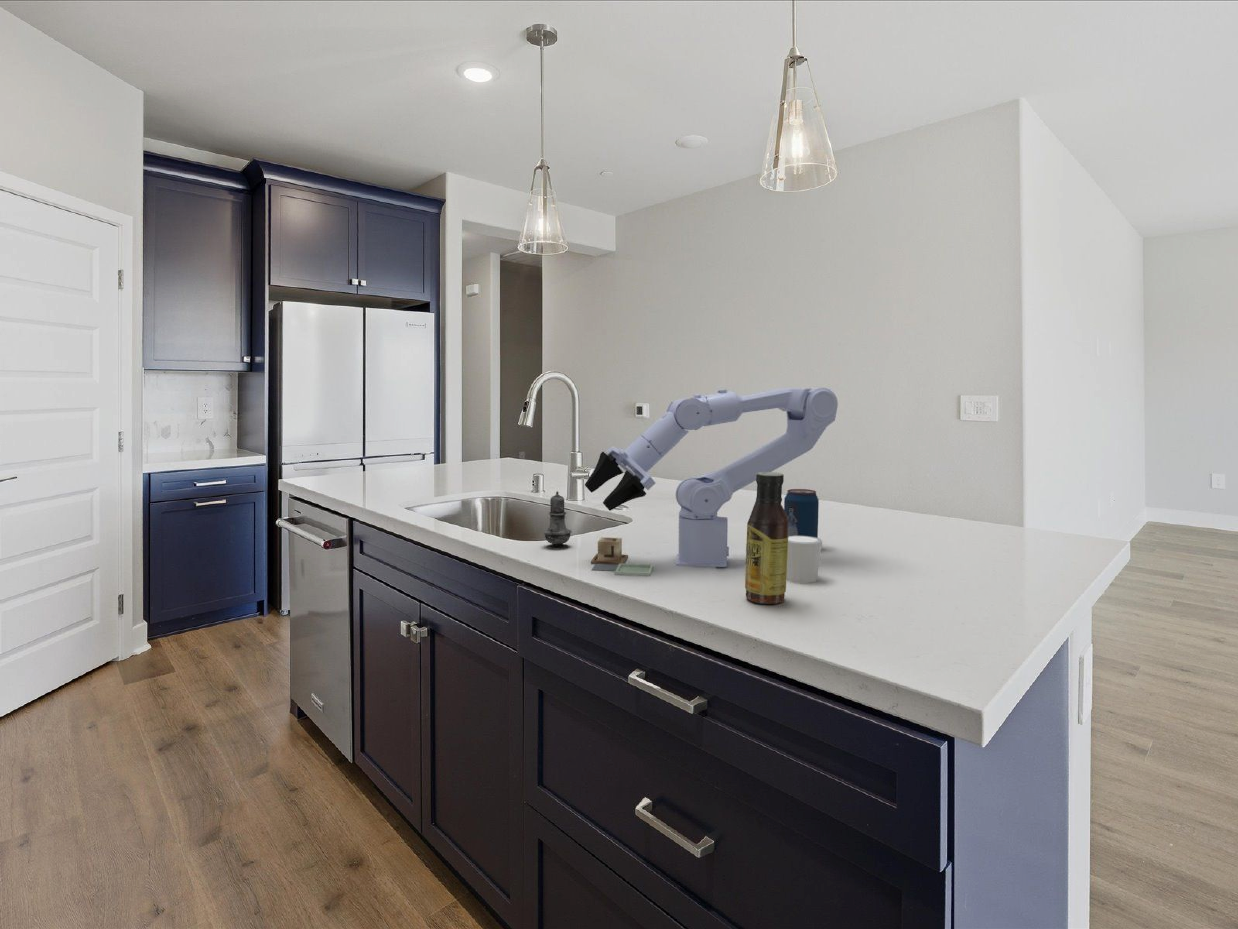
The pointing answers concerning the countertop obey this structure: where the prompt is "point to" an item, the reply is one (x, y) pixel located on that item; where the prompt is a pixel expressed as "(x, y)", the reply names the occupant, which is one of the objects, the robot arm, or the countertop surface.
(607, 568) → the slate mat
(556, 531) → the salt shaker
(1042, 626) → the countertop surface
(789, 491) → the soda can
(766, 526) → the sauce bottle
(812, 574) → the white tapered cylinder
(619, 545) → the letter cube
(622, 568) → the stoneware dish
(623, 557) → the walnut dish
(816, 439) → the robot arm
